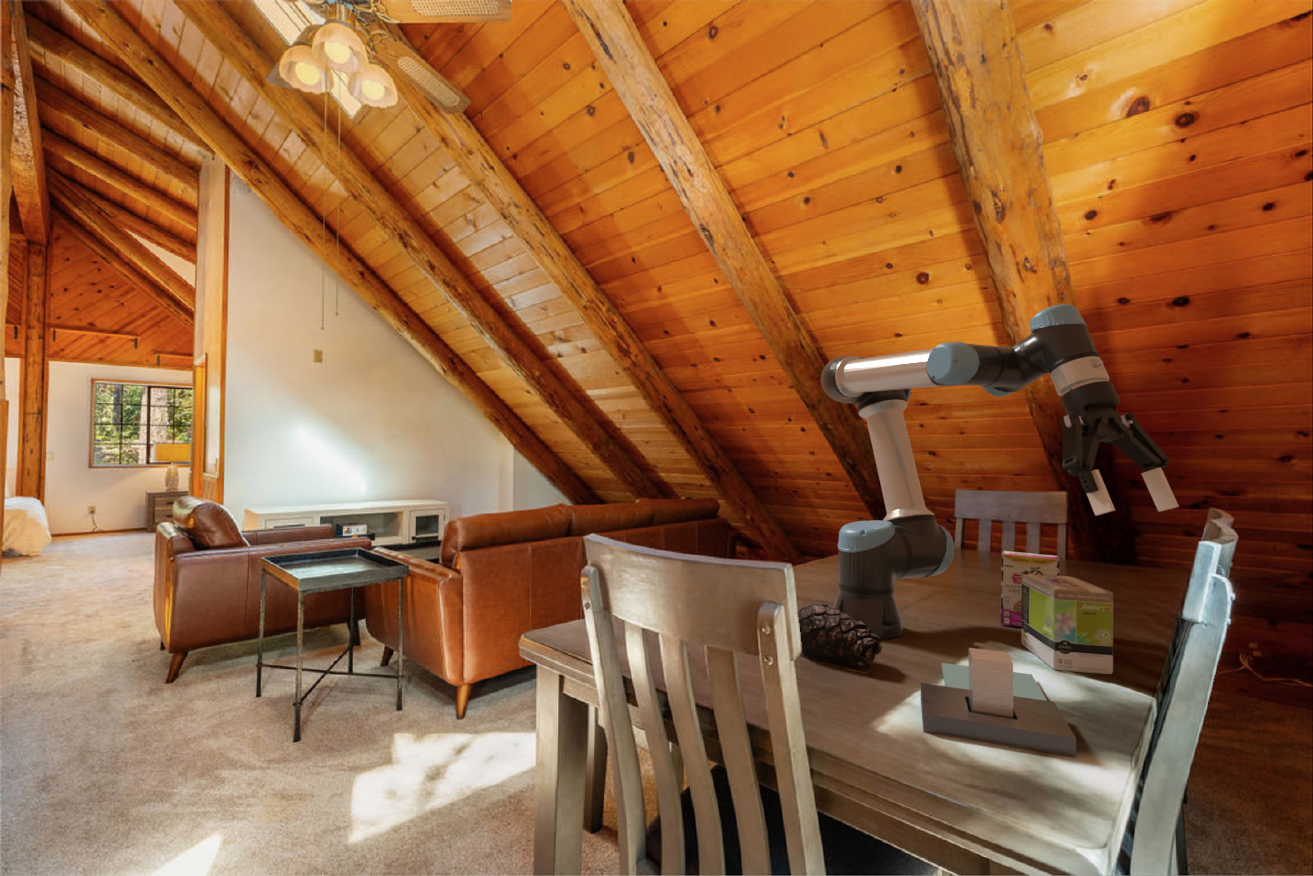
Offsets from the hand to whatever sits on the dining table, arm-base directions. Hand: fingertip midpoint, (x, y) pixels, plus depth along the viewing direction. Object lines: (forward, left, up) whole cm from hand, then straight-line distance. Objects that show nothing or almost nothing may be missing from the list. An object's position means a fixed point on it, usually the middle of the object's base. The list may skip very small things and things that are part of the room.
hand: (1137, 511), depth 93 cm
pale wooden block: (-22, -16, -30) cm, 41 cm away
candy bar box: (-7, +42, -31) cm, 52 cm away
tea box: (-5, +21, -31) cm, 38 cm away
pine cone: (-45, +4, -31) cm, 55 cm away
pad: (-20, 0, -30) cm, 36 cm away
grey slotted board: (-22, -16, -30) cm, 41 cm away
